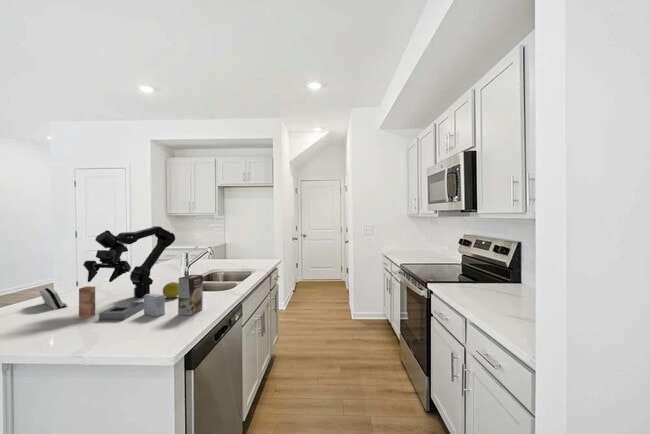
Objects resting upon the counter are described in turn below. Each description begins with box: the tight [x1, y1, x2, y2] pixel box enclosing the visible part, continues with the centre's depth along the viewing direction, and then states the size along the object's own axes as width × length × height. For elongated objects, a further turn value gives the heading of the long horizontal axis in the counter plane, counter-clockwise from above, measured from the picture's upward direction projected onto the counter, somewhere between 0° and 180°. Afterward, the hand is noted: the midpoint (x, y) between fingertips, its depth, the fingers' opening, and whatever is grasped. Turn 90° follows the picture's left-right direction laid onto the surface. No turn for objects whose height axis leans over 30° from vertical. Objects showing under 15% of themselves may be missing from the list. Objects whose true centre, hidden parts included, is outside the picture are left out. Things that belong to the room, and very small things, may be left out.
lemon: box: [162, 281, 179, 299], centre depth 166 cm, size 11×8×8 cm
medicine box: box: [143, 292, 166, 318], centre depth 138 cm, size 8×4×9 cm, turn 65°
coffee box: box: [177, 274, 204, 316], centre depth 142 cm, size 9×6×16 cm
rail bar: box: [98, 301, 144, 321], centre depth 138 cm, size 16×10×3 cm, turn 3°
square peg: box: [78, 285, 96, 319], centre depth 134 cm, size 4×4×12 cm
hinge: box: [39, 286, 68, 310], centre depth 150 cm, size 17×5×10 cm, turn 52°
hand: (99, 281), depth 142 cm, fingers open, 9 cm apart
